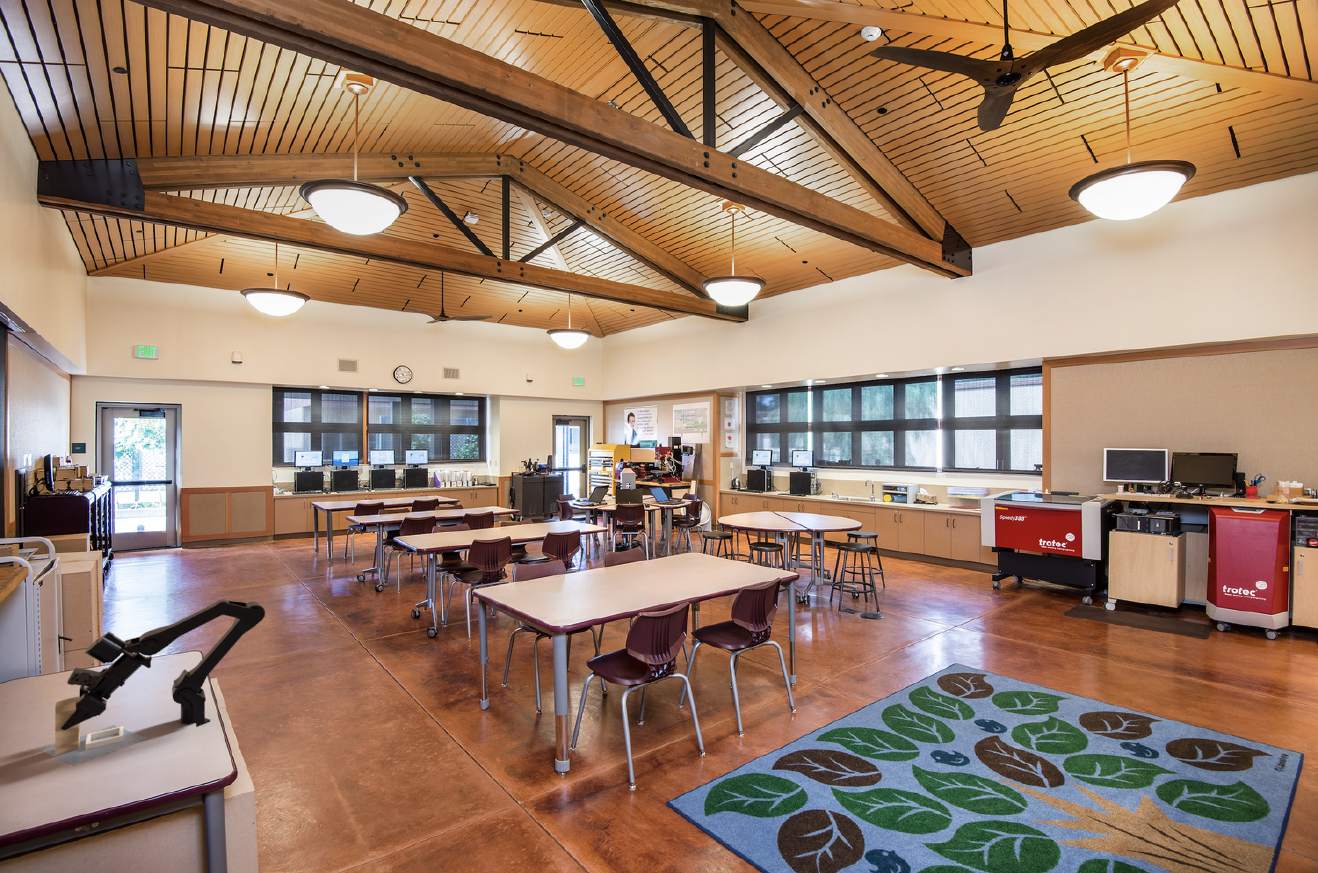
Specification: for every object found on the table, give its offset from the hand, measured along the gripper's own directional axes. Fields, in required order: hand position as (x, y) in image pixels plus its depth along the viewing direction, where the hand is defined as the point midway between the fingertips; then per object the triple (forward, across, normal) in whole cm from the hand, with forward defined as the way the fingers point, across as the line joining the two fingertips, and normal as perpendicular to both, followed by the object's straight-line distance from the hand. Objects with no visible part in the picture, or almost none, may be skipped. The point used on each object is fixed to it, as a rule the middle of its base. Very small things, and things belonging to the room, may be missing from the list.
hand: (64, 723), depth 166 cm
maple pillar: (+4, 0, +6) cm, 7 cm away
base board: (+2, +1, +10) cm, 10 cm away
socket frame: (-1, 0, +11) cm, 11 cm away
